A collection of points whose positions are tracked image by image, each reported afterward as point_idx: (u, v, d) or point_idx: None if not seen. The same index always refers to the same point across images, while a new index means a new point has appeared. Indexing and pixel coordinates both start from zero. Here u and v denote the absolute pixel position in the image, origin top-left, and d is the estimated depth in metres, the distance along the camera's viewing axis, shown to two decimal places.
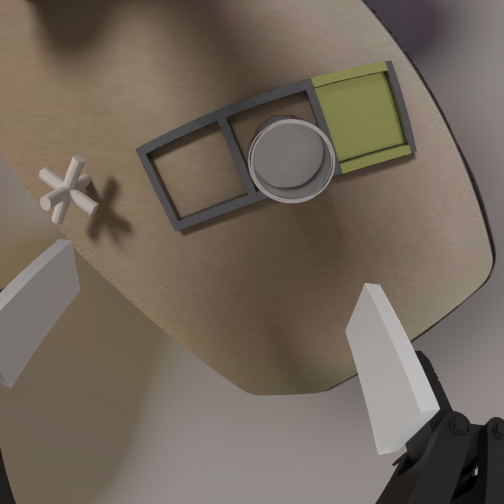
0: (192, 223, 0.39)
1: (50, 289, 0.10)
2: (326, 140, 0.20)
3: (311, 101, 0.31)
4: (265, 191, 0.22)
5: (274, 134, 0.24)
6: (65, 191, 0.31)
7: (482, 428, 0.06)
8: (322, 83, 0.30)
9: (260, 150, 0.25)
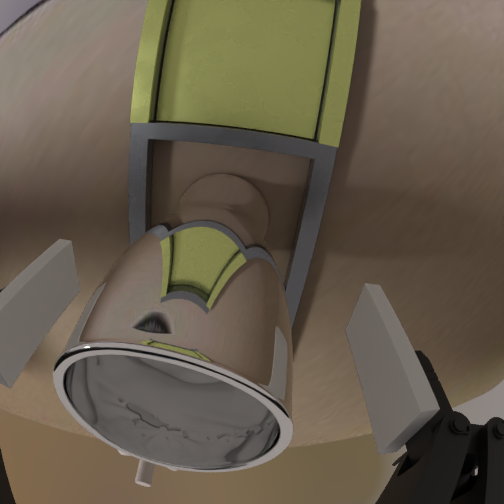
0: None
1: (50, 289, 0.10)
2: (115, 352, 0.05)
3: (172, 138, 0.16)
4: (216, 470, 0.08)
5: None
6: None
7: (482, 428, 0.06)
8: (146, 104, 0.15)
9: (163, 363, 0.11)
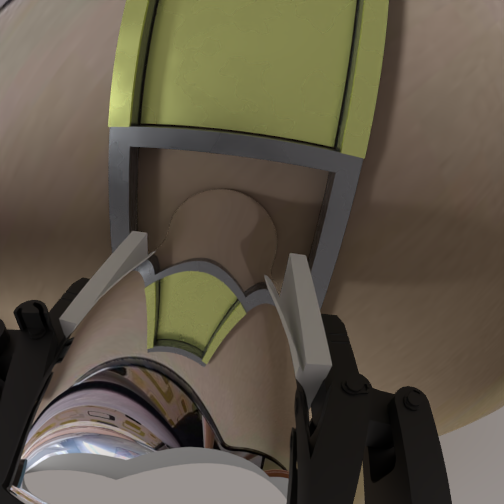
0: None
1: None
2: None
3: (159, 145, 0.13)
4: None
5: None
6: None
7: (390, 401, 0.07)
8: (127, 104, 0.12)
9: None
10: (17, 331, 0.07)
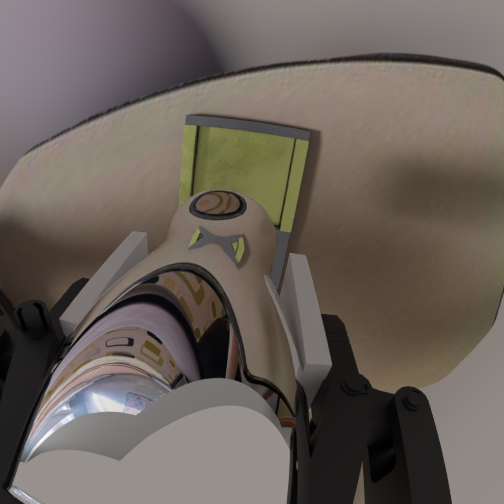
0: None
1: None
2: None
3: None
4: None
5: None
6: None
7: (390, 401, 0.07)
8: None
9: None
10: (17, 331, 0.07)
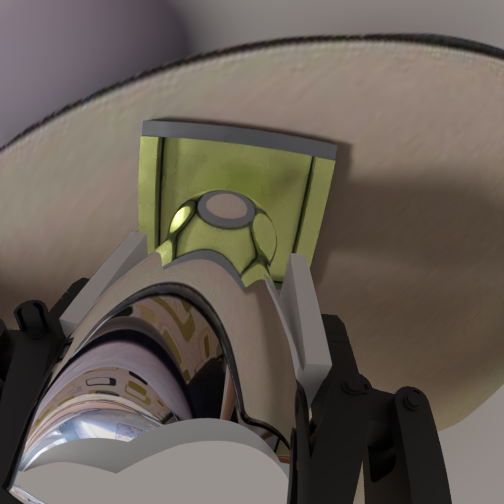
0: None
1: None
2: None
3: None
4: None
5: None
6: None
7: (390, 401, 0.07)
8: None
9: None
10: (17, 331, 0.07)
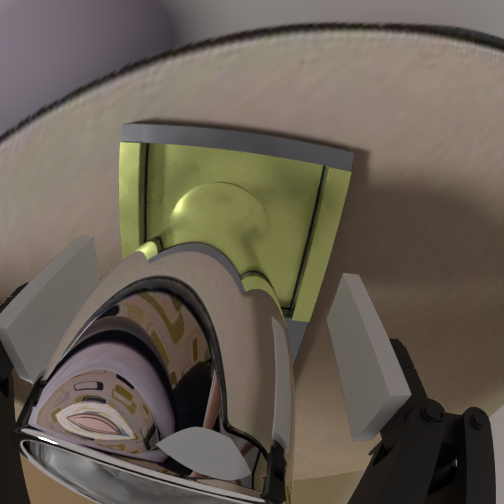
0: None
1: (73, 284, 0.11)
2: (62, 449, 0.03)
3: None
4: None
5: None
6: None
7: (459, 419, 0.06)
8: None
9: None
10: None
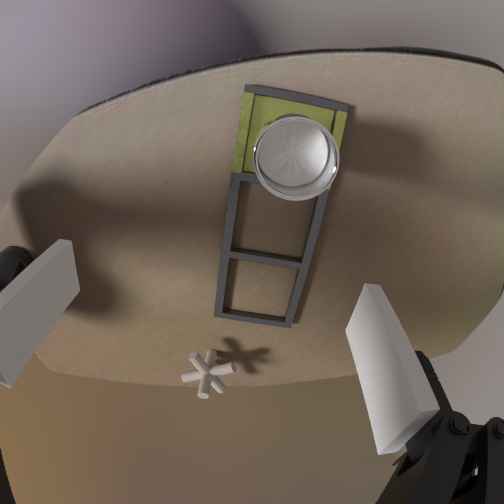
0: (293, 315, 0.45)
1: (50, 289, 0.10)
2: (293, 119, 0.20)
3: (252, 181, 0.36)
4: (309, 196, 0.22)
5: (269, 153, 0.25)
6: (206, 376, 0.46)
7: (482, 428, 0.06)
8: (241, 164, 0.35)
9: (276, 172, 0.26)
10: None
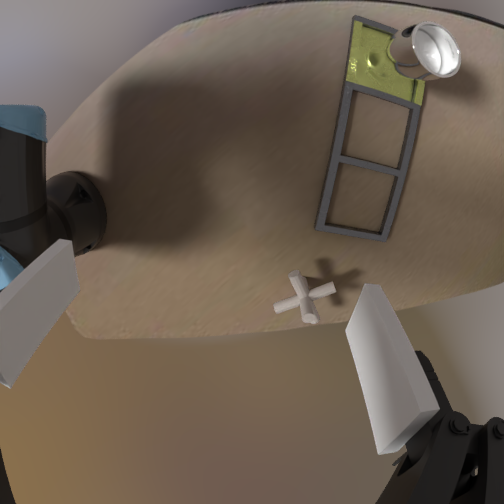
0: (389, 226, 0.44)
1: (50, 289, 0.10)
2: (433, 23, 0.18)
3: (362, 91, 0.35)
4: (447, 75, 0.21)
5: None
6: (307, 299, 0.44)
7: (482, 428, 0.06)
8: (354, 75, 0.34)
9: None
10: None
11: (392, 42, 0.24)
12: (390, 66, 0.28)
